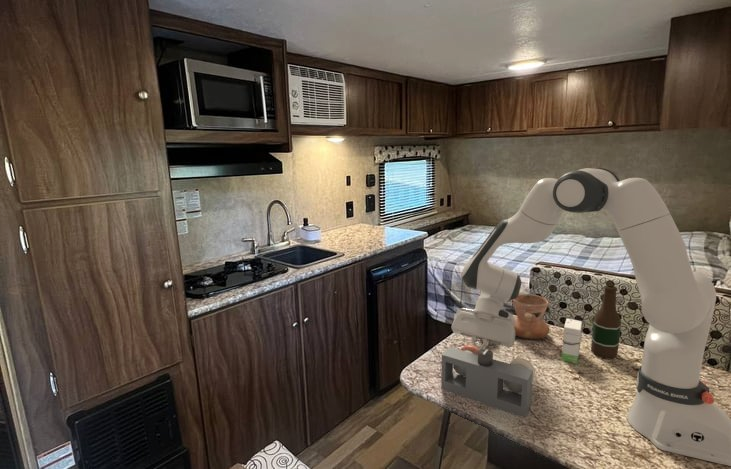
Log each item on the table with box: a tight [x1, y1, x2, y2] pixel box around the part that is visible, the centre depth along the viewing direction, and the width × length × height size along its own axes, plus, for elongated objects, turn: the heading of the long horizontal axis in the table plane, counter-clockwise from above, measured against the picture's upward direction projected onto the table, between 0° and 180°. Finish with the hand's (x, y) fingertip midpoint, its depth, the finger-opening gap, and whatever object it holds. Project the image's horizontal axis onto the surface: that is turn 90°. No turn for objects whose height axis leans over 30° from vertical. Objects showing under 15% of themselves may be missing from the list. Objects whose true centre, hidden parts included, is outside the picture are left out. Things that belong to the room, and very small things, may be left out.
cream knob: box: [503, 357, 536, 394], centre depth 110 cm, size 7×8×7 cm
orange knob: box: [453, 344, 480, 377], centre depth 118 cm, size 7×8×7 cm
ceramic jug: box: [512, 293, 550, 340], centre depth 147 cm, size 18×14×14 cm
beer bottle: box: [590, 284, 622, 360], centre depth 130 cm, size 8×8×24 cm
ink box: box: [561, 318, 583, 364], centre depth 130 cm, size 9×5×12 cm, turn 149°
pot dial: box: [478, 348, 494, 366], centre depth 107 cm, size 4×4×3 cm
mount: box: [440, 346, 533, 419], centre depth 109 cm, size 24×6×11 cm, turn 55°
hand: (476, 352), depth 125 cm, fingers closed
